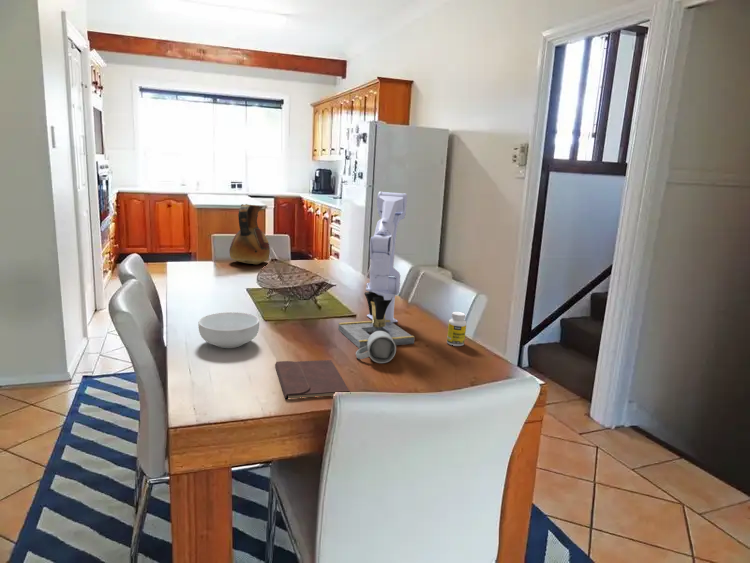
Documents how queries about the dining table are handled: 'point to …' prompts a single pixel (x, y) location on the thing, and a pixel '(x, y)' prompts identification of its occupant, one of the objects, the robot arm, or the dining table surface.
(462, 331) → the supplement bottle
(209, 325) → the cereal bowl
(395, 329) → the jig
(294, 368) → the notebook
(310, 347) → the dining table surface
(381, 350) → the ceramic mug
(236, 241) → the ceramic pitcher
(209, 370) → the dining table surface
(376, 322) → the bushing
